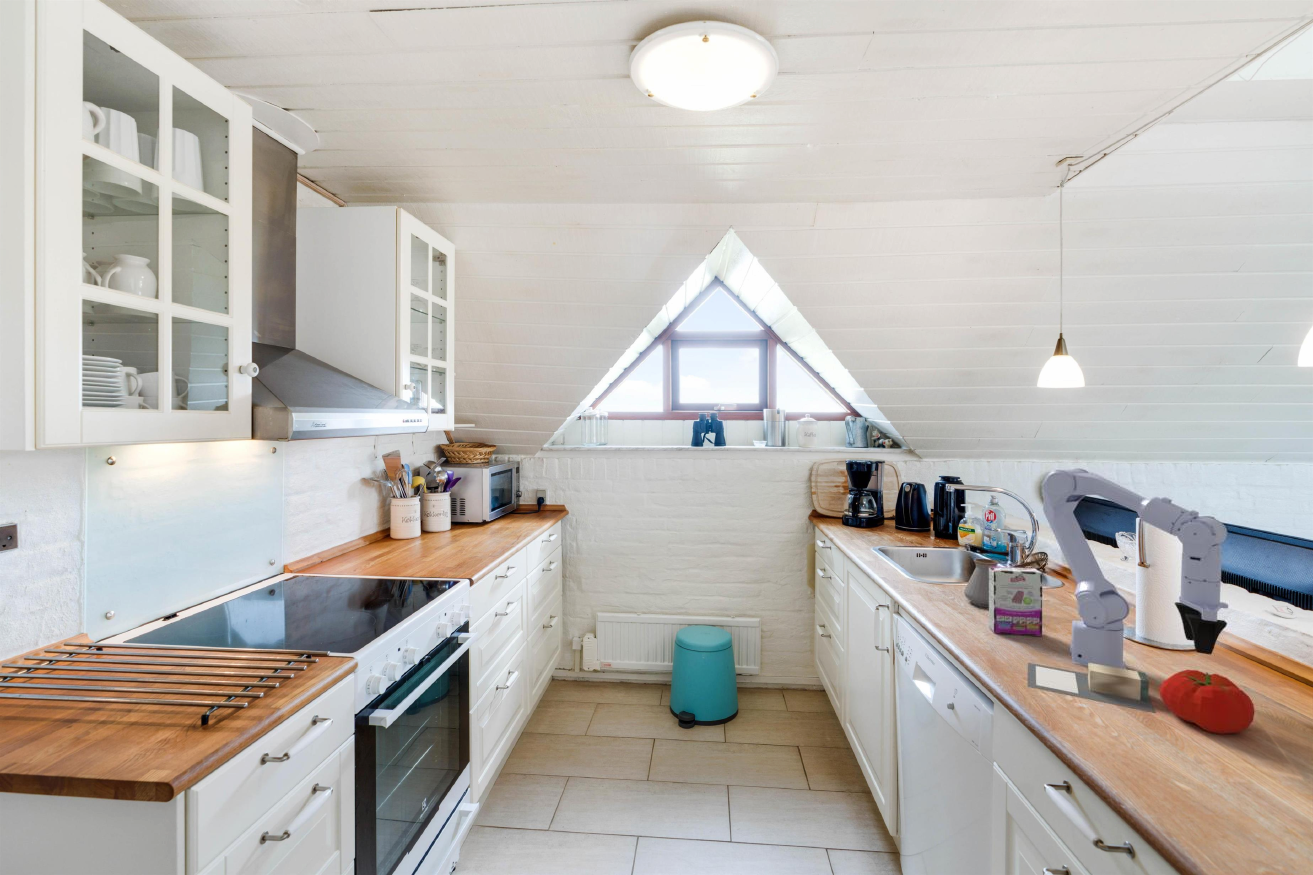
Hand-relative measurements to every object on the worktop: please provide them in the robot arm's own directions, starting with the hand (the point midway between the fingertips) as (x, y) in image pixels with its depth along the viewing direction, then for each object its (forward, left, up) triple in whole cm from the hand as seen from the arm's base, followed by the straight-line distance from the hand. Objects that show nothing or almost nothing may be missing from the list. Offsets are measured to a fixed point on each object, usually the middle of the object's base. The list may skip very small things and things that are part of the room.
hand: (1198, 646), depth 115 cm
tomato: (-2, -15, -10) cm, 18 cm away
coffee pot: (-34, +45, -10) cm, 57 cm away
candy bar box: (-31, +21, -10) cm, 39 cm away
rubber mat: (-18, -8, -10) cm, 22 cm away
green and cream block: (-13, -8, -9) cm, 18 cm away
